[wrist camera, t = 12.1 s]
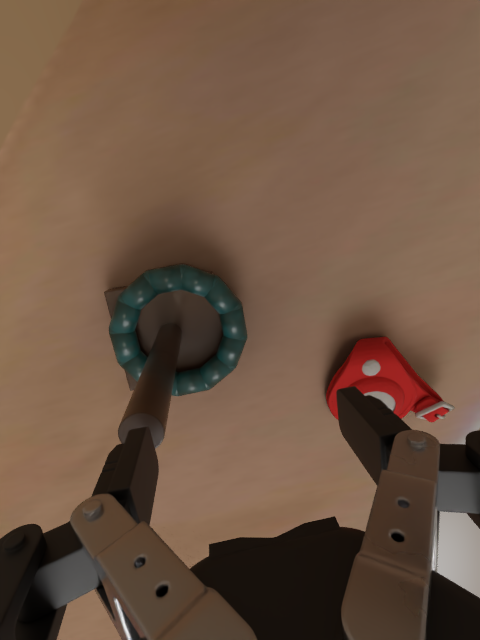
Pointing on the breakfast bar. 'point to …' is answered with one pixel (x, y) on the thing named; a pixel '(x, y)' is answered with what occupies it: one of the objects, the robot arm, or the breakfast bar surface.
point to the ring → (171, 281)
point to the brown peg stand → (166, 353)
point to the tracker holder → (386, 381)
